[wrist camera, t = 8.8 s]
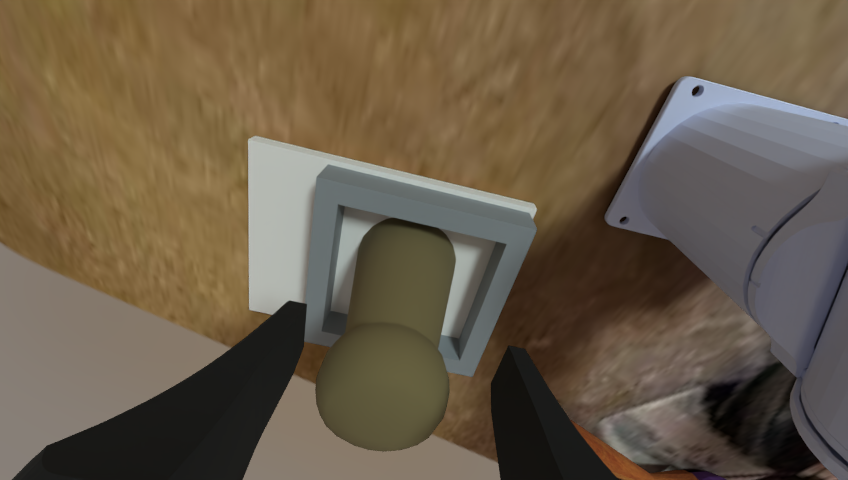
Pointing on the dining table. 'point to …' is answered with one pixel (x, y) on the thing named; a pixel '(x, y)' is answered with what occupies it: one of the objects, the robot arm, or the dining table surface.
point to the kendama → (631, 472)
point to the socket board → (352, 218)
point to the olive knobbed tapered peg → (391, 341)
